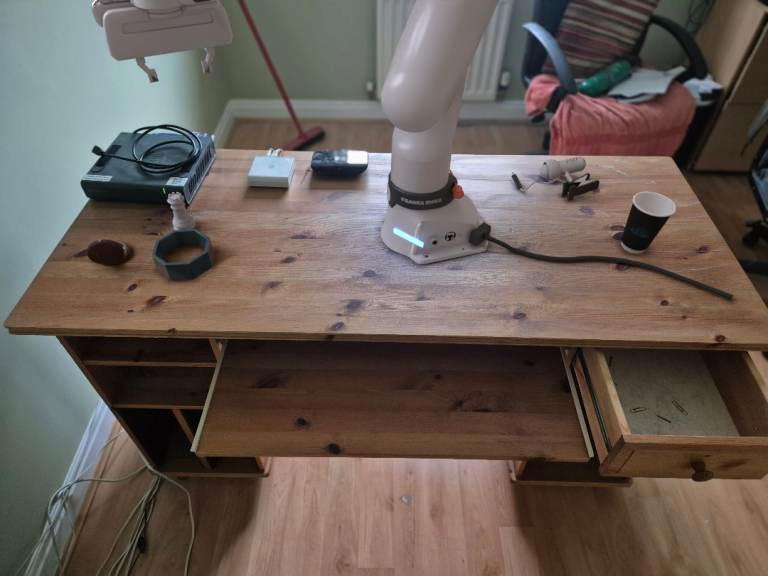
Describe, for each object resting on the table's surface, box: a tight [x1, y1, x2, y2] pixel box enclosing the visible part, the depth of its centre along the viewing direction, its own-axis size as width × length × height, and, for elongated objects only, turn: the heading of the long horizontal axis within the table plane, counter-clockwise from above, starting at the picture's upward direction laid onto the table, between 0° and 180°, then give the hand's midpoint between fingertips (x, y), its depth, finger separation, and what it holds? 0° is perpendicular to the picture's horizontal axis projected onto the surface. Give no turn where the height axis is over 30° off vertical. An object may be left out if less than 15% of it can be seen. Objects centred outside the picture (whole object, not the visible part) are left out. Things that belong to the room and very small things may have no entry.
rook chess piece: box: [166, 191, 196, 231], centre depth 102 cm, size 4×4×8 cm
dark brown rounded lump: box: [85, 237, 132, 266], centre depth 95 cm, size 8×8×7 cm
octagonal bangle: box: [151, 228, 216, 282], centre depth 96 cm, size 10×10×4 cm
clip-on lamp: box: [510, 156, 601, 202], centre depth 116 cm, size 12×6×18 cm
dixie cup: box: [620, 191, 677, 255], centre depth 100 cm, size 8×8×11 cm
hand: (181, 76), depth 89 cm, fingers open, 8 cm apart
